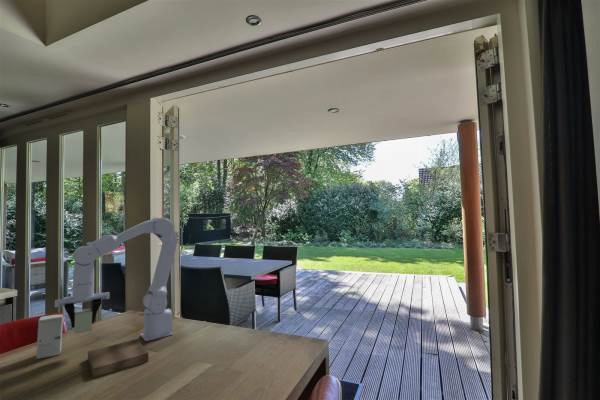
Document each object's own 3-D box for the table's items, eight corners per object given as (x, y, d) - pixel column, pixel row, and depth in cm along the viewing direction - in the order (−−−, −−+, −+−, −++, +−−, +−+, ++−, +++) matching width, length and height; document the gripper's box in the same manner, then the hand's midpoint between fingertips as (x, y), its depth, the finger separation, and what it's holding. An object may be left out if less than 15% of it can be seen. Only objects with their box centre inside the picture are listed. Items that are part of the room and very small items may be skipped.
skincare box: (35, 359, 94) (37, 320, 94) (38, 354, 98) (39, 316, 98) (60, 354, 97) (61, 316, 98) (62, 349, 101) (63, 313, 102)
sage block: (90, 326, 101) (90, 308, 101) (91, 330, 98) (92, 311, 98) (73, 330, 98) (73, 311, 98) (74, 334, 95) (75, 314, 95)
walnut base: (137, 346, 103) (137, 338, 103) (148, 361, 92) (148, 352, 92) (87, 359, 93) (88, 351, 94) (93, 377, 83) (93, 368, 83)
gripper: (107, 277, 106) (106, 316, 106) (55, 284, 97) (53, 327, 96) (111, 281, 101) (110, 321, 100) (55, 288, 91) (54, 333, 91)
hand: (82, 324), depth 98 cm, fingers closed on sage block, 4 cm apart
